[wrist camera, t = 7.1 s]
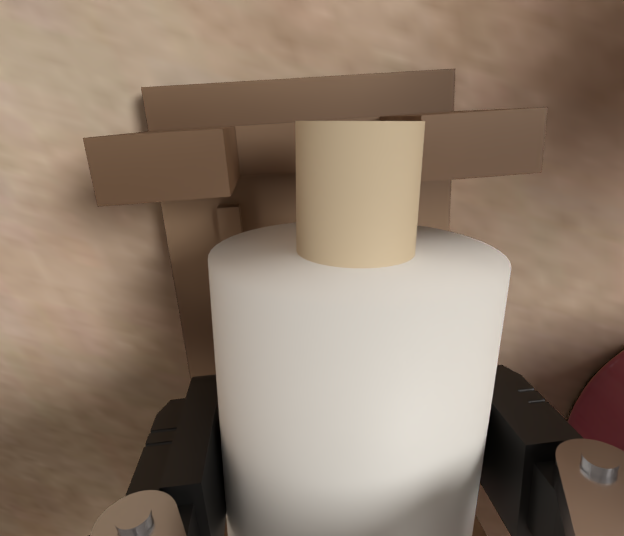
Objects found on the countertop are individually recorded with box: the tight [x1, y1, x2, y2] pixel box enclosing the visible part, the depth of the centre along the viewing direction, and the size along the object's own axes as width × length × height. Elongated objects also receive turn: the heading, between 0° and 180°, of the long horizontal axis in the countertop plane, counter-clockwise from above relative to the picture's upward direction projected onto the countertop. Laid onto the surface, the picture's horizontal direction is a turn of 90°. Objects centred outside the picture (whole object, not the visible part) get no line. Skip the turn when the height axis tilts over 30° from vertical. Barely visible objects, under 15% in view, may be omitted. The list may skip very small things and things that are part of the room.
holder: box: [83, 69, 548, 536], centre depth 13 cm, size 15×8×6 cm, turn 4°
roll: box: [208, 121, 511, 536], centre depth 10 cm, size 14×5×5 cm
